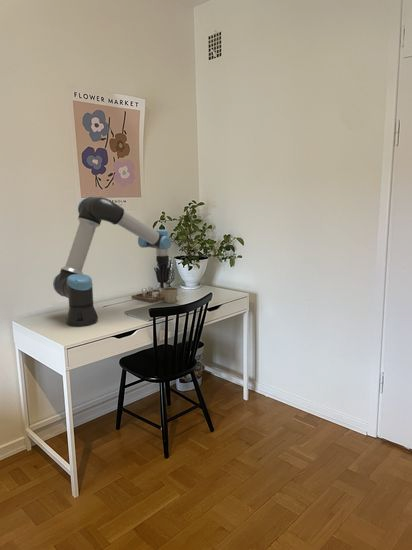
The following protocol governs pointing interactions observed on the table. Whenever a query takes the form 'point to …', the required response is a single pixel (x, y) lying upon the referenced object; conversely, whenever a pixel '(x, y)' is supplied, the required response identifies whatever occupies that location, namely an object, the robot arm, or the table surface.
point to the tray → (148, 298)
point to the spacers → (151, 292)
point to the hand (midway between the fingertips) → (163, 293)
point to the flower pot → (170, 294)
